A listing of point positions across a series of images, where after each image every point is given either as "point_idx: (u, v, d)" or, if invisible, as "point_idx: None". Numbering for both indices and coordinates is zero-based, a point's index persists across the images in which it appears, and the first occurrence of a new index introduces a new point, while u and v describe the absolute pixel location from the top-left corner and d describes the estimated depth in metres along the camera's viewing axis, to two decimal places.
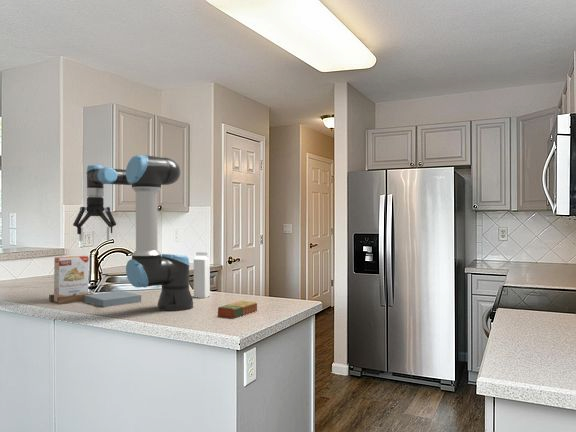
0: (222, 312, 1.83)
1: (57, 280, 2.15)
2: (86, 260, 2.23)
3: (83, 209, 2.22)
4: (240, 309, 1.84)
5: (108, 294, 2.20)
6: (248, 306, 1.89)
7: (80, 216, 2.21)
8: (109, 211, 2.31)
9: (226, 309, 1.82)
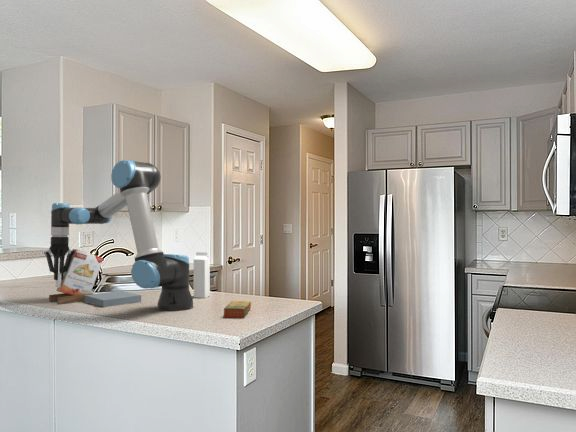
0: (229, 313, 1.82)
1: None
2: (100, 261, 2.28)
3: (48, 254, 2.12)
4: (246, 309, 1.86)
5: (108, 294, 2.20)
6: (248, 305, 1.91)
7: (50, 261, 2.13)
8: (71, 255, 2.19)
9: (234, 309, 1.82)
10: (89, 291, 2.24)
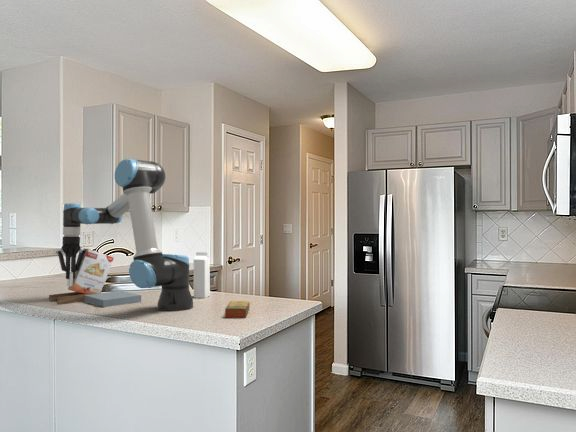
0: (231, 313, 1.81)
1: None
2: (110, 260, 2.32)
3: (60, 253, 2.16)
4: (246, 308, 1.86)
5: (108, 294, 2.20)
6: (247, 305, 1.91)
7: (62, 260, 2.17)
8: (82, 254, 2.23)
9: (235, 309, 1.82)
10: (100, 290, 2.28)
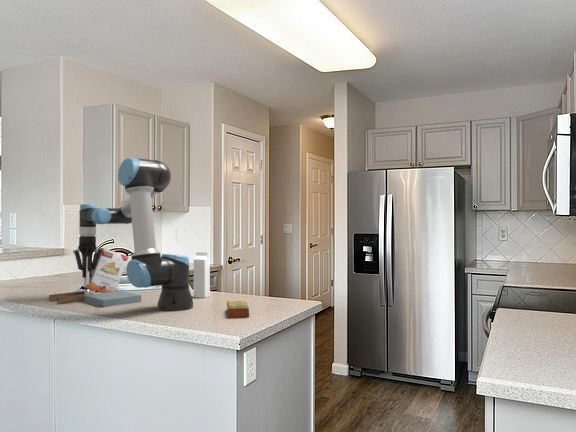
0: (234, 313, 1.81)
1: None
2: (125, 259, 2.38)
3: (77, 252, 2.21)
4: None
5: (108, 294, 2.20)
6: None
7: (79, 260, 2.22)
8: (98, 253, 2.29)
9: (239, 309, 1.82)
10: (115, 288, 2.34)
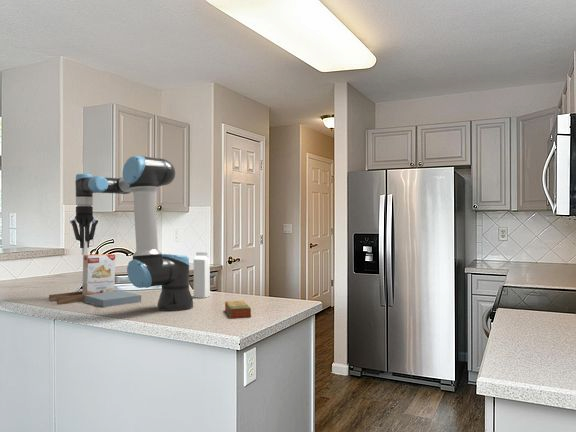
0: (236, 313, 1.81)
1: (85, 277, 2.25)
2: (113, 258, 2.33)
3: (74, 222, 2.20)
4: None
5: (108, 294, 2.20)
6: (246, 304, 1.92)
7: (76, 230, 2.21)
8: (95, 224, 2.28)
9: (241, 309, 1.82)
10: (113, 288, 2.33)
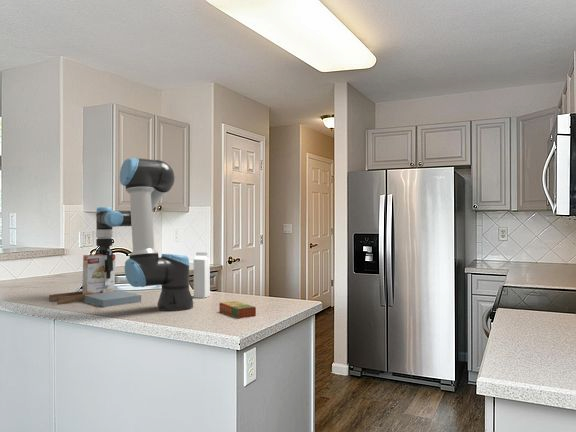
0: (243, 313, 1.82)
1: (85, 277, 2.25)
2: (113, 258, 2.32)
3: (96, 252, 2.35)
4: None
5: (108, 294, 2.20)
6: None
7: None
8: (107, 255, 2.27)
9: (247, 309, 1.83)
10: (113, 288, 2.33)
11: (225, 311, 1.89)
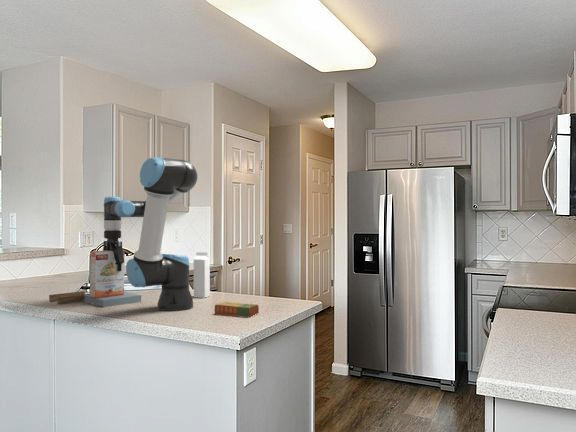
0: (252, 311, 1.85)
1: (93, 275, 2.10)
2: None
3: (104, 243, 2.21)
4: None
5: None
6: None
7: (103, 250, 2.22)
8: (116, 246, 2.12)
9: (254, 307, 1.87)
10: (122, 287, 2.18)
11: (226, 312, 1.87)
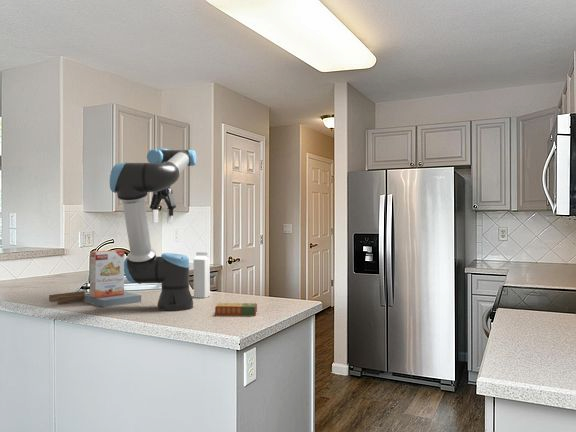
0: (255, 310, 1.88)
1: (93, 275, 2.10)
2: (122, 254, 2.18)
3: (153, 192, 2.36)
4: None
5: None
6: None
7: (152, 199, 2.37)
8: (167, 193, 2.27)
9: (255, 306, 1.89)
10: (122, 287, 2.18)
11: (228, 313, 1.85)
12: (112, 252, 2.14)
